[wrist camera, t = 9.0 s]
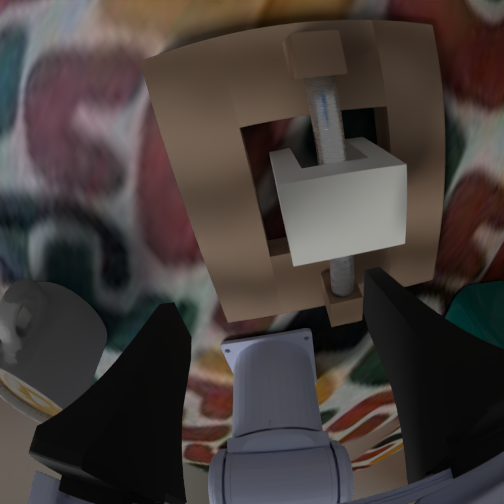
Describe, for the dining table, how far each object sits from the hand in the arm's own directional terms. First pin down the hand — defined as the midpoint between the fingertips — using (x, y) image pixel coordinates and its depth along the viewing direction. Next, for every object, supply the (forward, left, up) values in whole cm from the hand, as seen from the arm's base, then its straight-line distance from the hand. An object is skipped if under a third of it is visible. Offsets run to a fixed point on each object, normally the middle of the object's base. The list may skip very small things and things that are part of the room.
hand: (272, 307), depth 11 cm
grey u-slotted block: (+2, -4, -9) cm, 9 cm away
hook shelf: (+1, -4, -9) cm, 10 cm away
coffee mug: (-6, +20, -9) cm, 23 cm away
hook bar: (+1, -4, -6) cm, 7 cm away
